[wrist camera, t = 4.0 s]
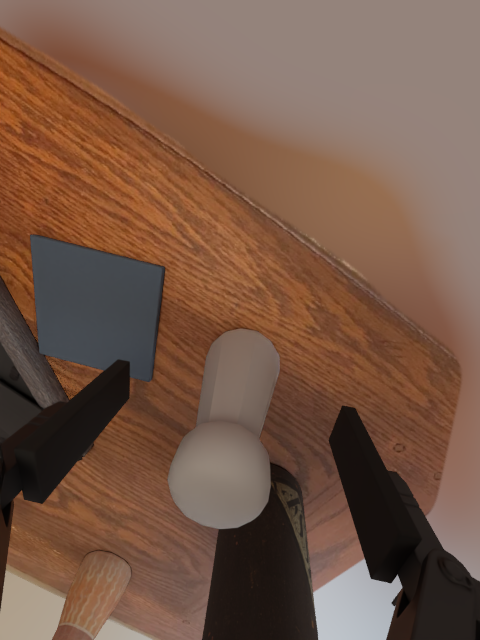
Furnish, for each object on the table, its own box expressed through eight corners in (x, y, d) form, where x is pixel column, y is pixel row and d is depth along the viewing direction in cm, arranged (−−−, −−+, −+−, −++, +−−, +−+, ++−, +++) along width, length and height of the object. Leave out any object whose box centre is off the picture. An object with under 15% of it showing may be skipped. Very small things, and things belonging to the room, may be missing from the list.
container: (282, 525, 29) (310, 1083, 10) (212, 497, 28) (101, 1017, 10) (319, 479, 26) (459, 1158, 7) (240, 447, 25) (159, 1065, 6)
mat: (165, 266, 20) (162, 267, 19) (152, 379, 24) (149, 382, 23) (36, 234, 20) (29, 234, 19) (44, 350, 24) (38, 353, 23)
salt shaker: (248, 305, 20) (217, 418, 8) (292, 354, 21) (326, 520, 9) (199, 346, 22) (113, 490, 10) (242, 389, 23) (213, 568, 11)
